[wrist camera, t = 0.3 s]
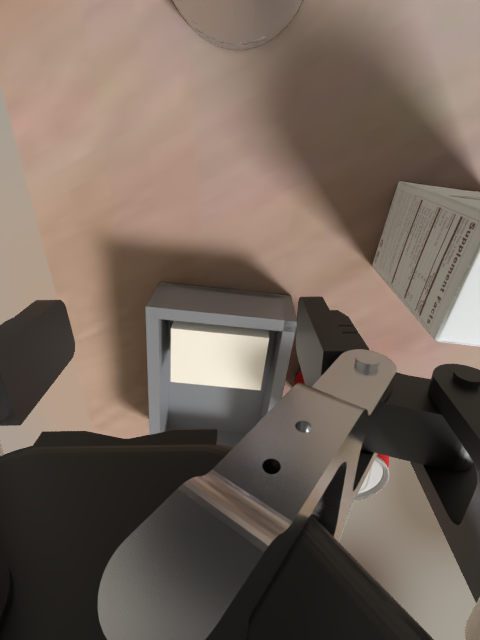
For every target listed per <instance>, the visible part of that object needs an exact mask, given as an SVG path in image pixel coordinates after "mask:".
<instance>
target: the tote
mask: <svg viewBox="0 0 480 640" xmlns="http://www.w3.org/2000/svg"><path fill="white" fill-rule="evenodd" d="M145 311H146V340H147V370H148V399H149V429H150V435H151V434H156V433H161V432H166V431H171V430H199V429H217V433H218V443H222V444H225V445H229V446H232V447H235V446H236V445H237V444H238V443H239V442H240V441H241V439H242V438H243V437H244V436H245V435H246V434H247V433H248V432H249V431H250V430H251V429H252V428H253V427H254V426H255V425H256V424H257V423H258V422H259V421H260V420H261V419H262V418H263V417H264V416H265V415H266V414H267V413H268V412H269V411H270V410H271V409H272V408H273V407H274V406H275V405H276V404H277V403H278V402H279V401H280V400H281V399H282V394H283V389H284V385H285V380H286V375H287V370H288V365H289V360H290V355H291V350H292V346H293V341H294V336H295V331H296V326H297V318H296V314H295V310H294V306H293V302H292V298H291V295H283V294H273V293H263V292H253V291H244V290H234V289H224V288H214V287H205V286H195V285H185V284H175V283H165V282H159V284H158V286H157V288H156V289H155V291H154V293H153V294H152V296H151V298H150V299H149V301H148V303H147V305H146V306H145ZM174 321H184V322H194V323H204V324H214V325H224V326H234V327H244V328H254V329H264V330H268V331H269V342H268V348H267V354H266V360H265V366H264V372H263V379H262V385H261V390H250V389H240V388H229V387H219V386H208V385H198V384H187V383H177V382H171V327H172V324H173V322H174Z"/></svg>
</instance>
